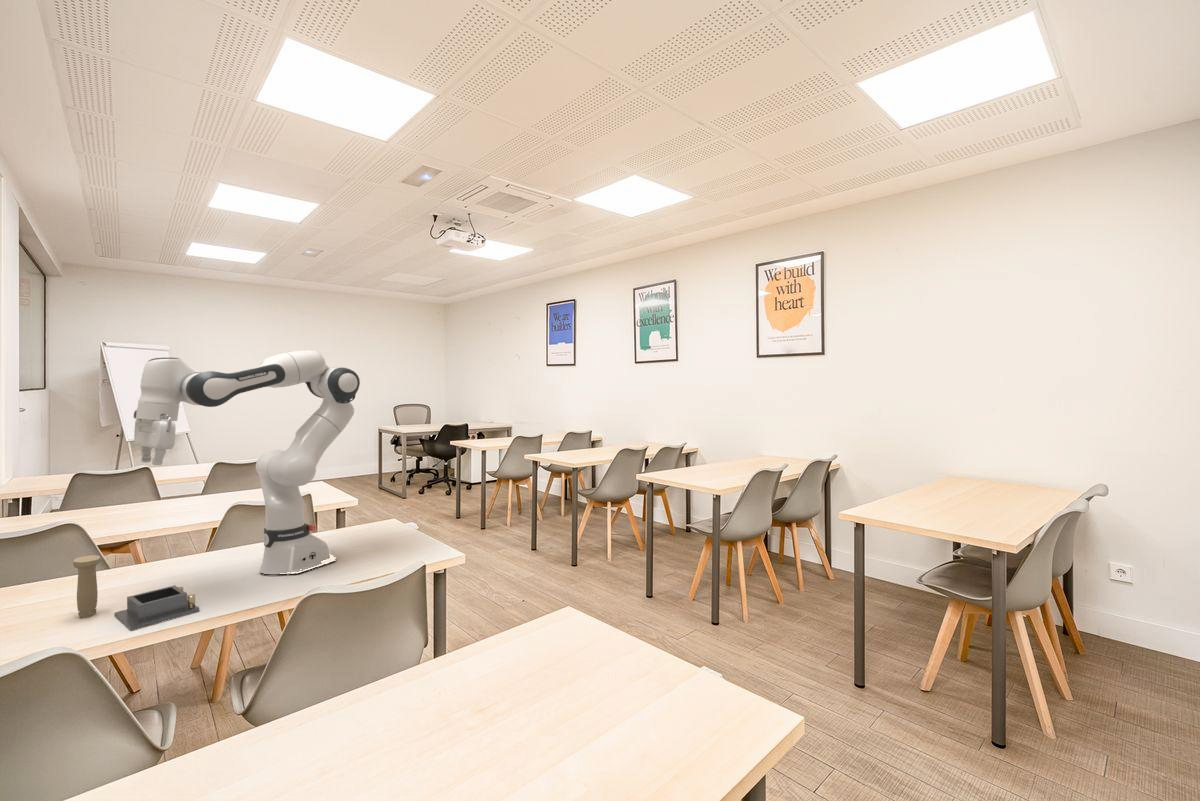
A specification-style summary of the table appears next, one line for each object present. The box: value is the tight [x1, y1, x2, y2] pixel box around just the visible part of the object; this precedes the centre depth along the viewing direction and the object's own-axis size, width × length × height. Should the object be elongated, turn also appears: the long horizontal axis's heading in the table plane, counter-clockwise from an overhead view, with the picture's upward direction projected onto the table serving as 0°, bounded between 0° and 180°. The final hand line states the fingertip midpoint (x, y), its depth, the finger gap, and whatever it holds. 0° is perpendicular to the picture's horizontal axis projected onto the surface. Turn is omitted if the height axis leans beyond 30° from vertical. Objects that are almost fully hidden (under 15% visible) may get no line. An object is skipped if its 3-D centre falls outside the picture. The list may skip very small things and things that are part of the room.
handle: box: [72, 554, 101, 619], centre depth 135 cm, size 5×6×15 cm
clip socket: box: [114, 585, 200, 632], centre depth 137 cm, size 14×14×5 cm
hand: (151, 463), depth 143 cm, fingers open, 8 cm apart
